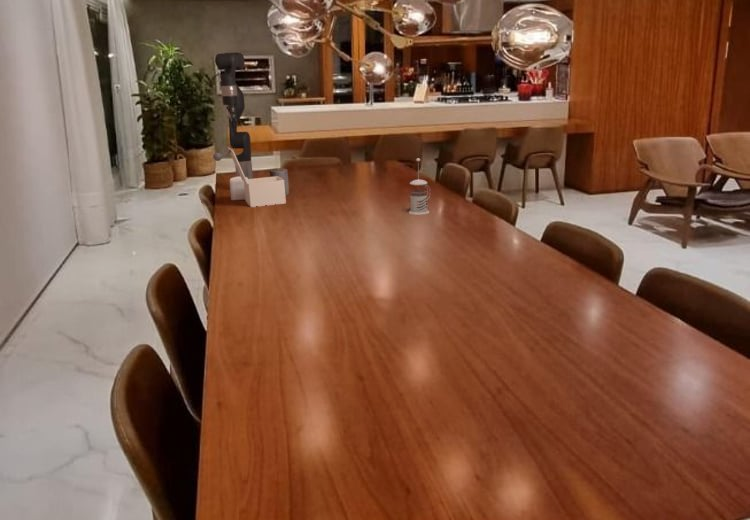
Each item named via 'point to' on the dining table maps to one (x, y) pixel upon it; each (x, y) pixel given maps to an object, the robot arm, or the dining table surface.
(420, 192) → the french press
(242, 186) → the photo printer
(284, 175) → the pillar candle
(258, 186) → the carton
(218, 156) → the carton lid
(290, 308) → the dining table surface
